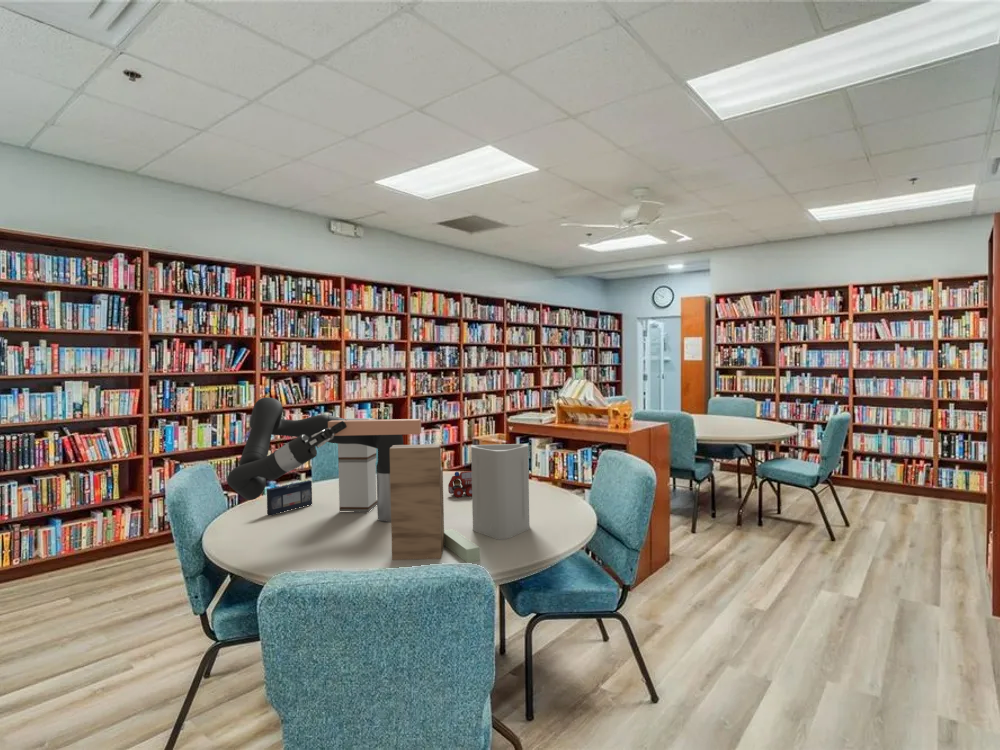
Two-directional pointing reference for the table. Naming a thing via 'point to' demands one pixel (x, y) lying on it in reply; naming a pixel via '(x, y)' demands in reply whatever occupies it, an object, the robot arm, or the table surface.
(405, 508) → the walnut stand
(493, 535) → the grey triangular vase
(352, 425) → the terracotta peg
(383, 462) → the robot arm
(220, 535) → the table surface
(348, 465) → the banded white pillar
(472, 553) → the sage peg
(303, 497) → the vhs cassette tape
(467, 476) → the toy fire truck
